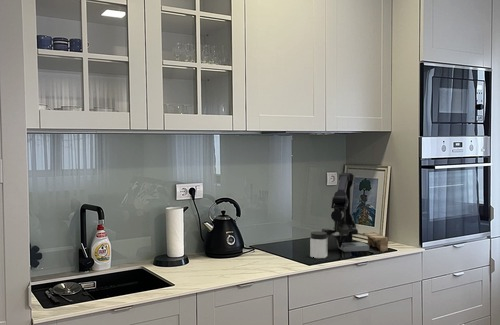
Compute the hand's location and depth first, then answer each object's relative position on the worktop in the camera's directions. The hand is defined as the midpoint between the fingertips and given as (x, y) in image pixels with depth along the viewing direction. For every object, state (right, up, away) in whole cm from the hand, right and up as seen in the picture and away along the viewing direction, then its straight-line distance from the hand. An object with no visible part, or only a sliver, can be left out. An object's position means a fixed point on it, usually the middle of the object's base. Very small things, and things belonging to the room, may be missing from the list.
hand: (339, 247), depth 267 cm
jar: (-13, -2, -15) cm, 20 cm away
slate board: (+8, -2, +2) cm, 8 cm away
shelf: (+20, -1, +4) cm, 20 cm away
